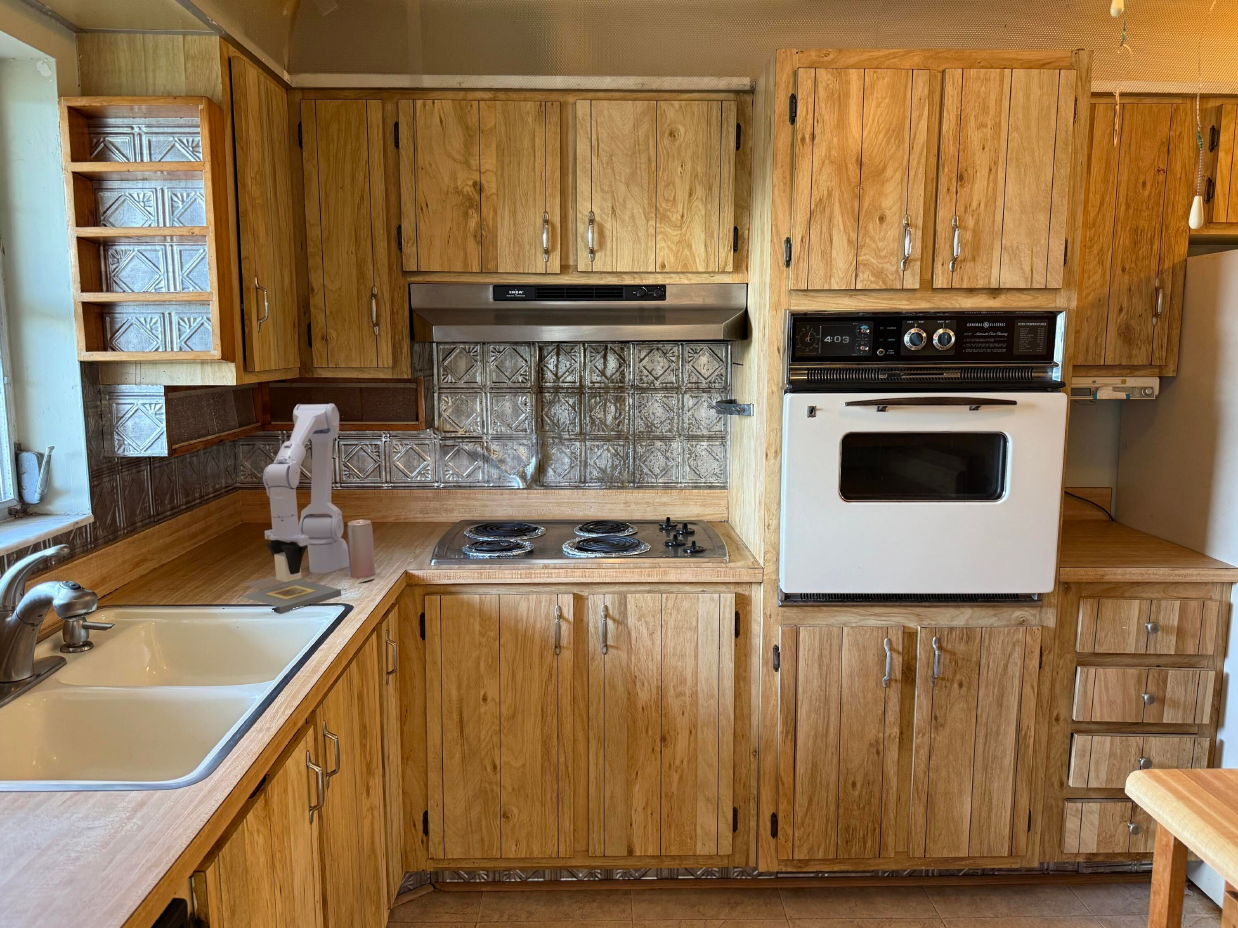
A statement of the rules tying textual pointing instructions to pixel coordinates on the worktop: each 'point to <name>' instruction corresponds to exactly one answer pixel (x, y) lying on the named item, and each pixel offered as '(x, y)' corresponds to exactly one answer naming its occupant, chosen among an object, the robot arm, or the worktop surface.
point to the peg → (284, 569)
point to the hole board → (286, 604)
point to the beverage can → (361, 549)
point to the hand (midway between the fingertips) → (289, 572)
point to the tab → (265, 583)
